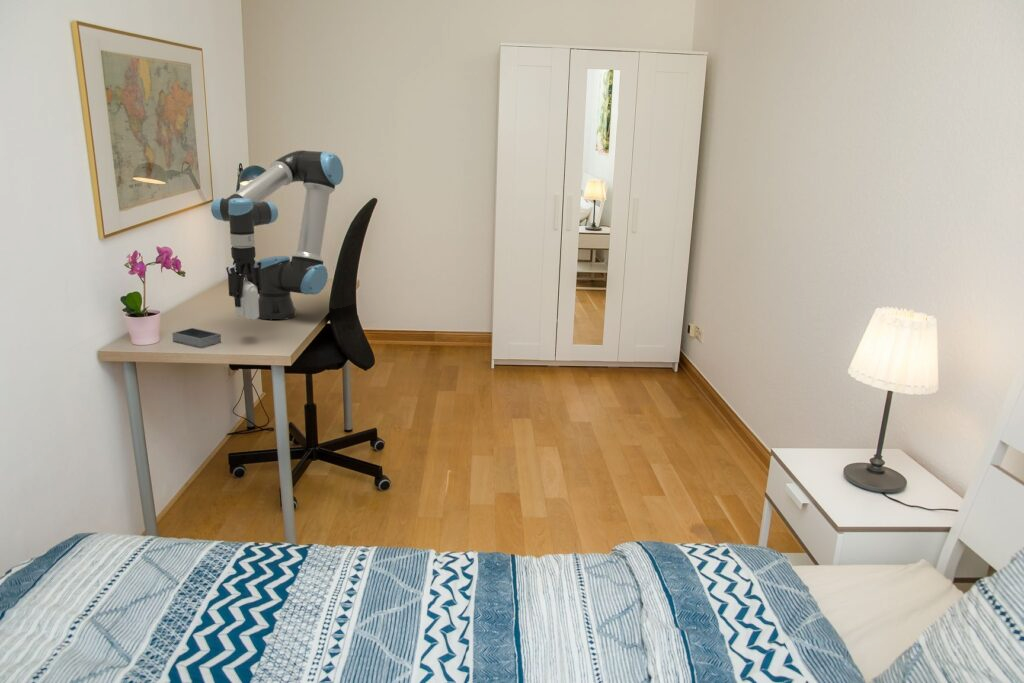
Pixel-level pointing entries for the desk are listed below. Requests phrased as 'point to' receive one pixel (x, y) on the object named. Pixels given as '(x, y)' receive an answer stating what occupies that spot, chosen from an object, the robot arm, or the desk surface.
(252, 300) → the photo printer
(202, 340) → the grey rectangular tray
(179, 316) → the desk surface
